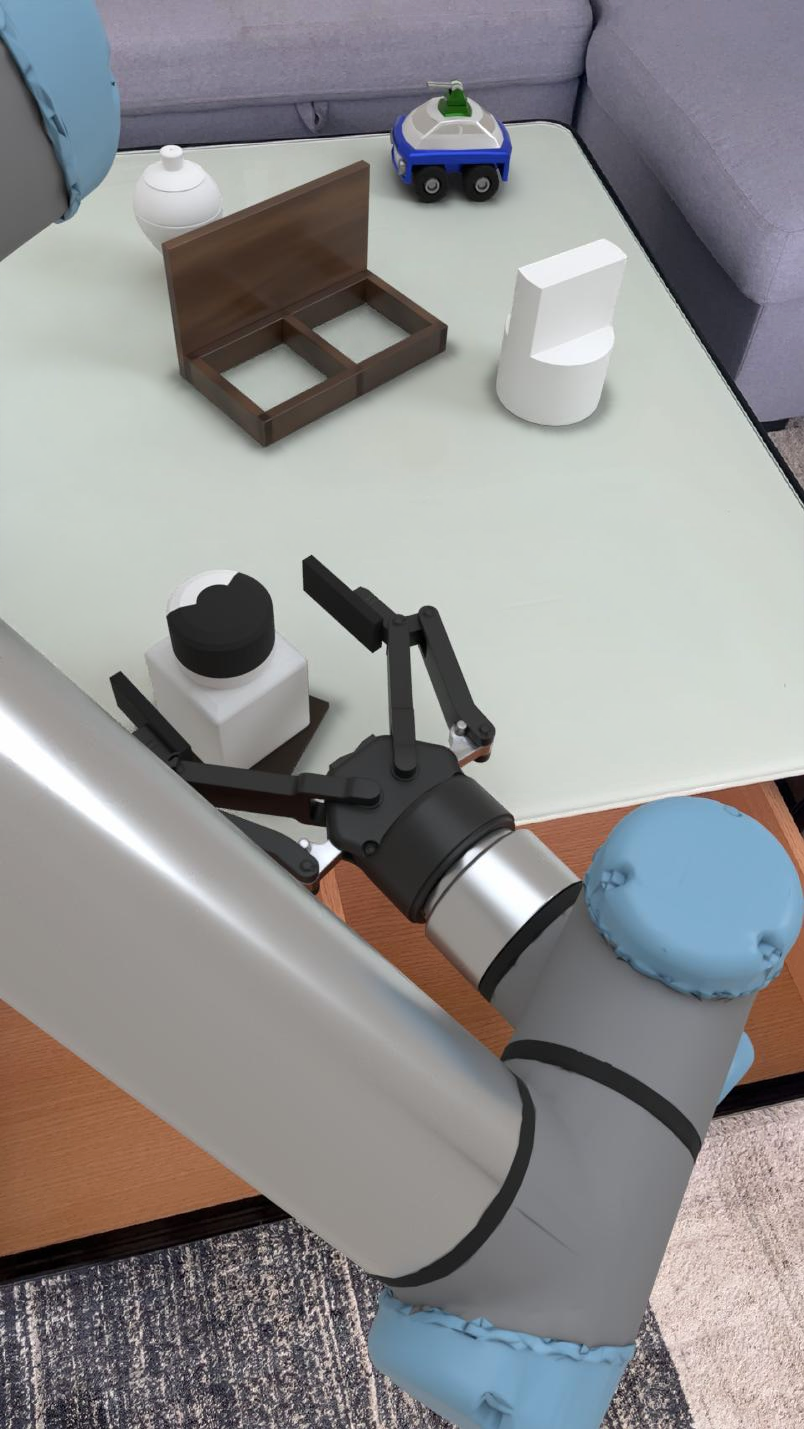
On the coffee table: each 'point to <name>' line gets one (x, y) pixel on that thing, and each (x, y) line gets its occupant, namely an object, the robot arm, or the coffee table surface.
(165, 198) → the spinning top
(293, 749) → the mat
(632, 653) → the coffee table surface
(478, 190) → the toy car
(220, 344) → the rack
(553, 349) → the base with upright slab
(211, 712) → the medicine bottle
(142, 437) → the coffee table surface
